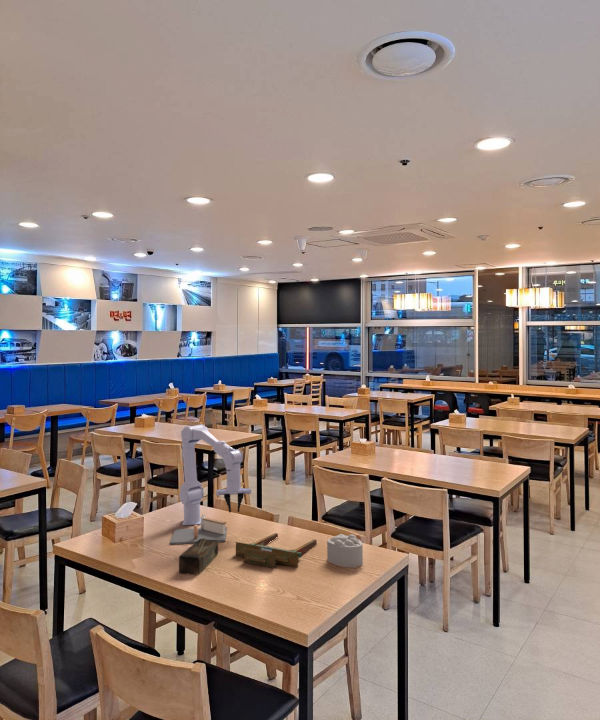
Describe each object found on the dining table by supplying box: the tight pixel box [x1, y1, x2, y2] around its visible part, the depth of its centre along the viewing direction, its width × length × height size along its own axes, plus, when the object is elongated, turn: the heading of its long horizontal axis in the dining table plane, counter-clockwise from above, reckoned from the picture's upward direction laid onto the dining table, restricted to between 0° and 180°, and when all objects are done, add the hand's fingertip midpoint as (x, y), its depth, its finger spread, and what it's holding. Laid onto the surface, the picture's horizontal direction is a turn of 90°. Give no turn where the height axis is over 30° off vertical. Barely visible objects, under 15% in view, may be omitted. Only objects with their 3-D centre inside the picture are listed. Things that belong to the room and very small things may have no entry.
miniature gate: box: [234, 532, 318, 569], centre depth 205 cm, size 27×6×30 cm
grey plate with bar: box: [169, 514, 228, 546], centre depth 225 cm, size 16×22×7 cm
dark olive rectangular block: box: [178, 538, 219, 575], centre depth 197 cm, size 8×19×7 cm, turn 168°
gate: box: [200, 516, 227, 534], centre depth 228 cm, size 13×2×5 cm, turn 55°
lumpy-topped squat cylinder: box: [326, 533, 364, 568], centre depth 197 cm, size 10×13×9 cm
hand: (234, 511), depth 228 cm, fingers open, 3 cm apart
